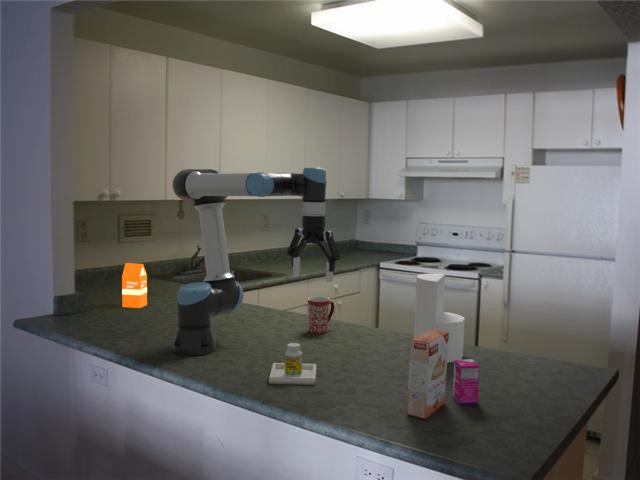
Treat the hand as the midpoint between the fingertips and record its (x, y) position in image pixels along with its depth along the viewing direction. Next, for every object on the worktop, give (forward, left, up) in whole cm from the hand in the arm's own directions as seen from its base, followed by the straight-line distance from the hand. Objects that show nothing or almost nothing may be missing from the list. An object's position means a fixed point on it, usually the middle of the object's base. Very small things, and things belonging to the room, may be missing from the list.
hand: (312, 279), depth 201 cm
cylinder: (+45, +13, -29) cm, 55 cm away
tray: (-5, -14, -29) cm, 32 cm away
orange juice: (-85, +79, -29) cm, 120 cm away
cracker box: (+33, -38, -29) cm, 58 cm away
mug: (+3, +42, -29) cm, 51 cm away
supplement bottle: (-5, -14, -28) cm, 32 cm away
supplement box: (+45, -31, -29) cm, 62 cm away
